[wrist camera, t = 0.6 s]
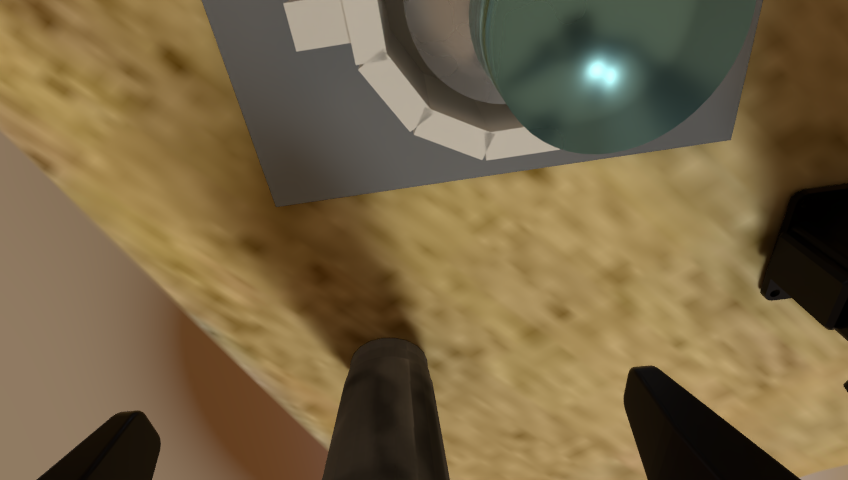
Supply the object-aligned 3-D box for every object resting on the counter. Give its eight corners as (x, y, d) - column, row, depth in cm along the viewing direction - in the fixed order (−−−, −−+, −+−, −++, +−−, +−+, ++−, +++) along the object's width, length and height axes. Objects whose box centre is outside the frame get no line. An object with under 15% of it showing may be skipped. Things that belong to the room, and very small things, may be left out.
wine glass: (632, -174, 11) (949, -336, 5) (612, 82, 14) (782, 192, 8) (384, -130, 11) (362, -228, 5) (419, 112, 14) (434, 242, 8)
